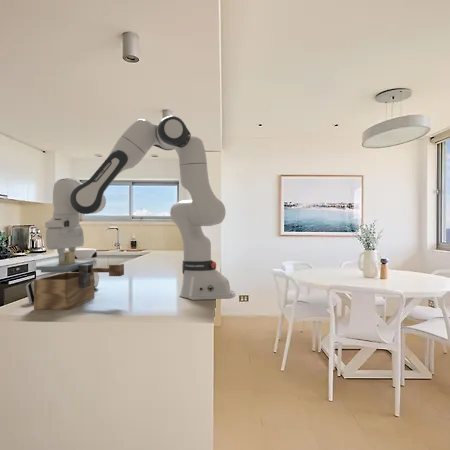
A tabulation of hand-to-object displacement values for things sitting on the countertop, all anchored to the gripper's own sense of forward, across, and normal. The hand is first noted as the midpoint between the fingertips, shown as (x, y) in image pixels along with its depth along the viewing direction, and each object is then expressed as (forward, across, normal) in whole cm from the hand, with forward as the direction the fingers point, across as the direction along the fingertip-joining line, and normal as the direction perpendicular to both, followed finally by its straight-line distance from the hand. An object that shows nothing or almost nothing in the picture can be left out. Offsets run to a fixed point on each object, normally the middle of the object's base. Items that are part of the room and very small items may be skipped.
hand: (66, 260), depth 130 cm
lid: (+2, 0, 0) cm, 2 cm away
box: (+16, 0, +1) cm, 16 cm away
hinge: (+16, -6, -12) cm, 21 cm away
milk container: (+16, -27, -9) cm, 32 cm away
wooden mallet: (+6, 0, +15) cm, 16 cm away
